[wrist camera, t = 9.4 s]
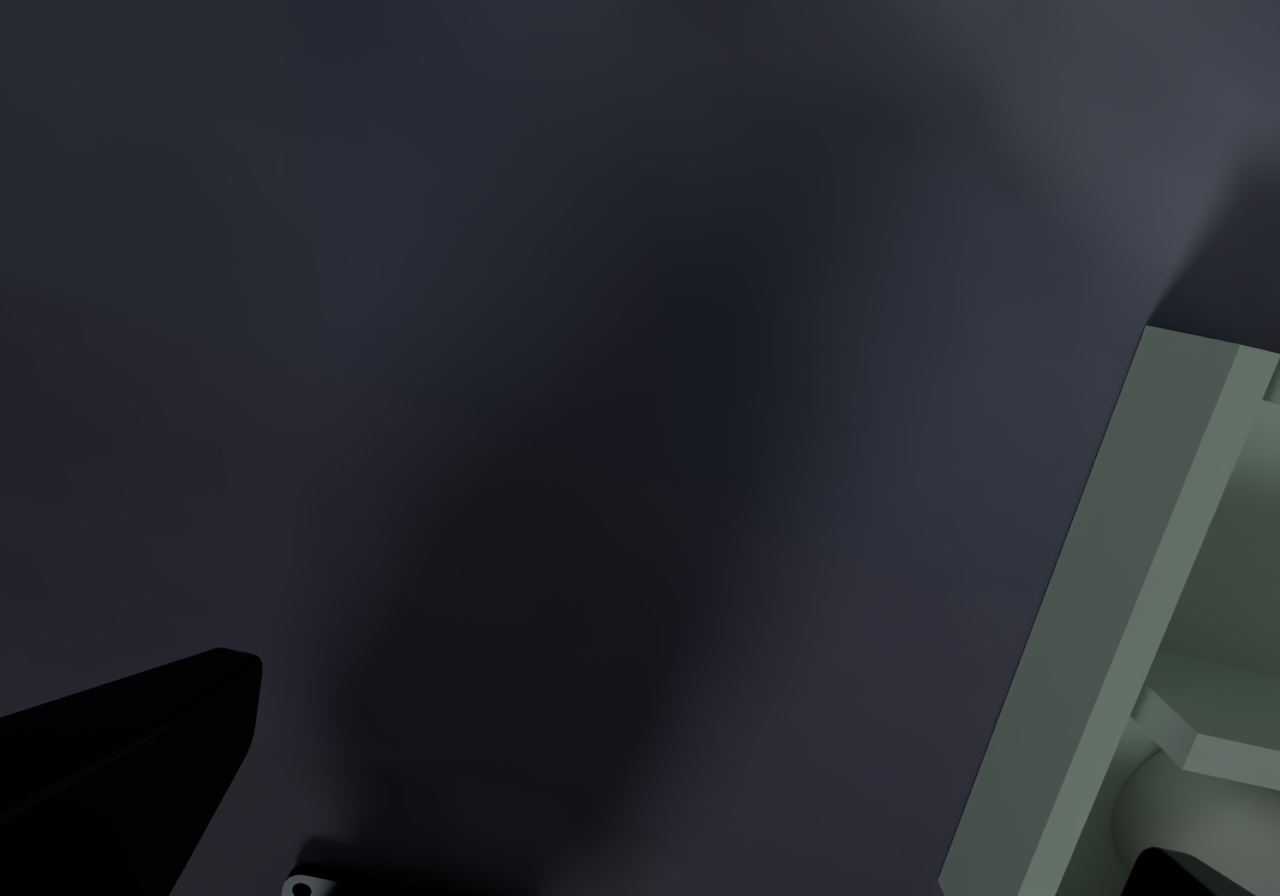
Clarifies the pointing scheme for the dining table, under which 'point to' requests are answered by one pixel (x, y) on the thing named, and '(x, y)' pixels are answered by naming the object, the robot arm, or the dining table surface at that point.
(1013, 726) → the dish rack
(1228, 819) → the jar
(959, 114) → the dining table surface
